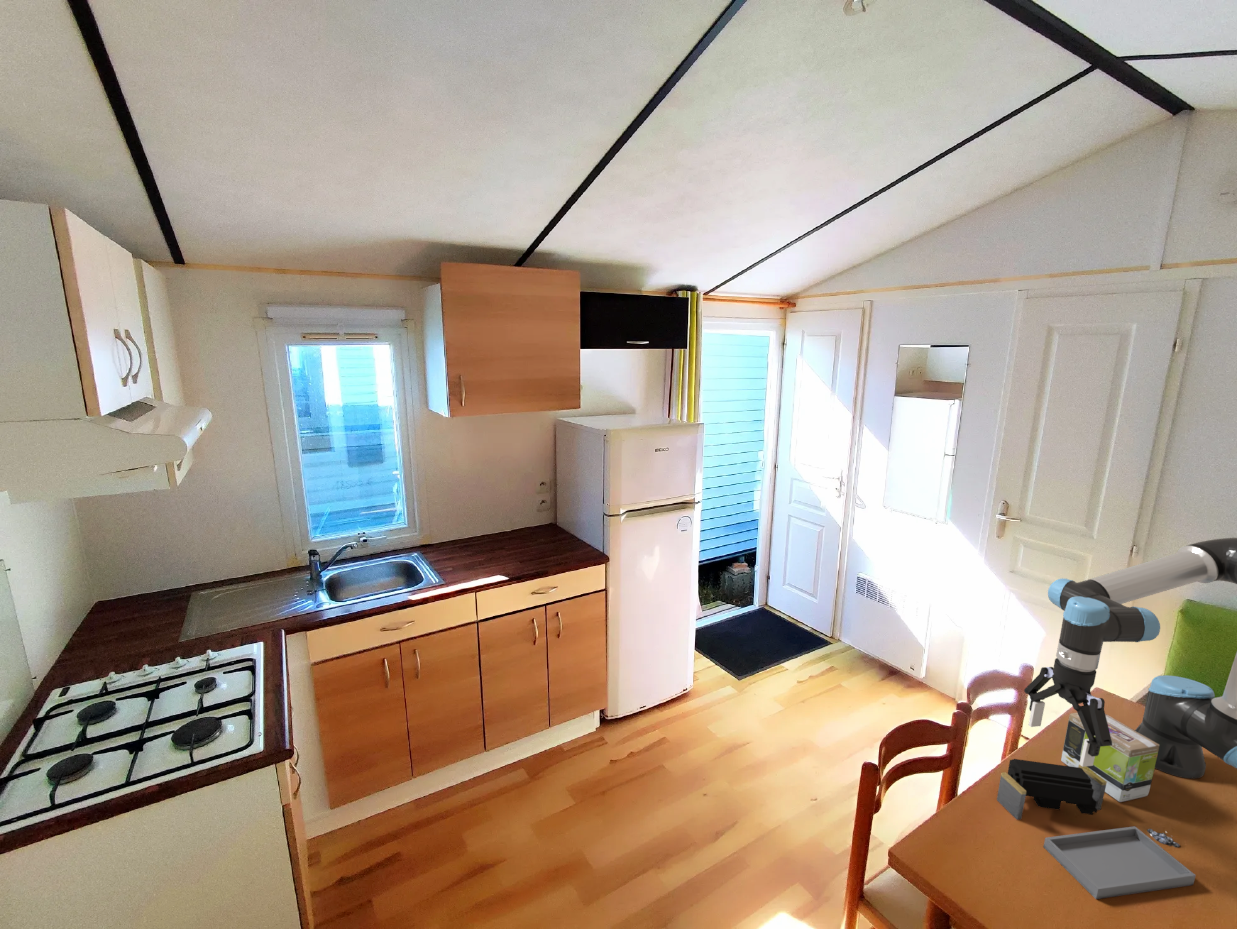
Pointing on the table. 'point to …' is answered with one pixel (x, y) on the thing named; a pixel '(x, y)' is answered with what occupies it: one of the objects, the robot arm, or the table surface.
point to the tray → (1118, 862)
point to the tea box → (1115, 758)
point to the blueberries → (1163, 838)
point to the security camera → (1054, 784)
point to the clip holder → (1015, 794)
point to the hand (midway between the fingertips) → (1058, 744)
